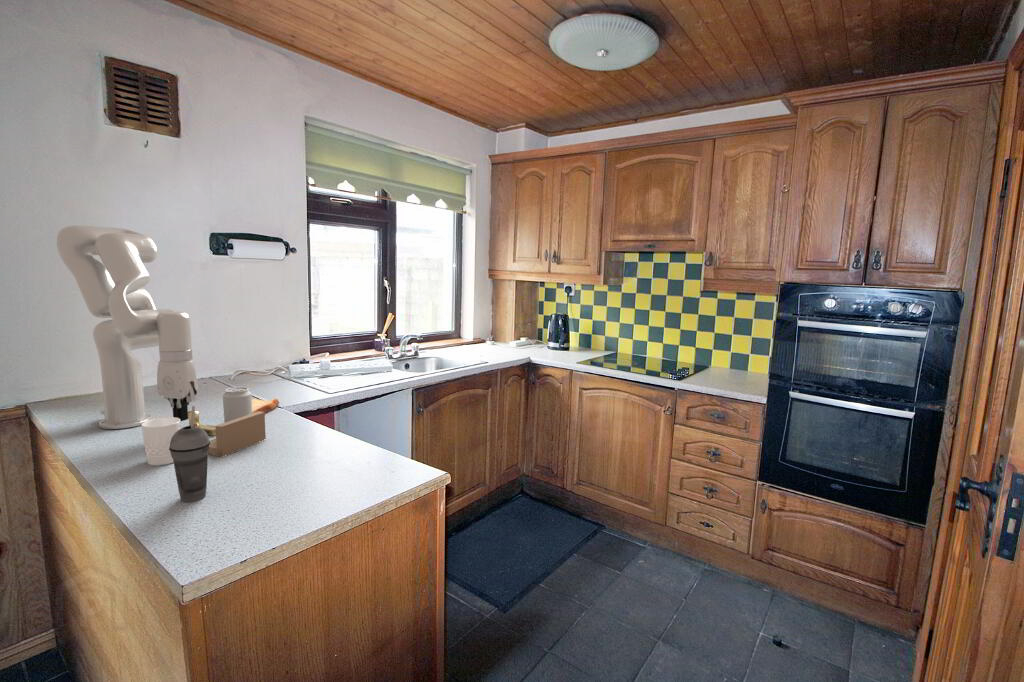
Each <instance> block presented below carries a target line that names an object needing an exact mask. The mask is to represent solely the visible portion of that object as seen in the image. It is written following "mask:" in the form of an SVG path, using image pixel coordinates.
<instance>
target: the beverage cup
mask: <svg viewBox="0 0 1024 682" xmlns="http://www.w3.org/2000/svg"><path fill="white" fill-rule="evenodd" d="M195 410H196V405H192V406H191V411H192V416H191V426H186V427H183V428H181V429H179V430H178V431H177V432H176V433H175V434H174V435H173V436H172V438H171V441H170V447H169V450H170V453H171V456H172V458H173V466H174V471H175V472H174V473H175V476H176V477H175V478H176V483H177V489H178V494H179V497H180V501H181V502H183V503H194V502H197V501H200V500H202V499H204V498H205V497H207V496H206V494H207V483H208V463H209V462H208V456H209V454H208V453H209V445H210V441H209V437H208V435H207V433H206V432H205V431H204V430H203V429H201V428H200V427H197V426H194V413H195Z"/></svg>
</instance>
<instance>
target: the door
mask: <svg viewBox="0 0 1024 682" xmlns="http://www.w3.org/2000/svg"><path fill="white" fill-rule="evenodd" d="M265 415H266V414H265V412H260V411H258V412H255V413H252V414H249V415H246V416H243V417H240V418H237V419H234V420H231V421H228V422H225V423H224V422H223V423H220V424H217V425H212V424H207V423H200V422H199V425H205V426H211V427H216V435H214V436H212V435H208V437H209V441H210V445H209V454H208V455H211V454H214V455H213V456H216V455H218V456H217V457H221V456H224V457H226V456H229V455H231V454H233V453H232V452H234V453H236V452H238V451H237V450H239V449H241V450H243V449H242V448H244V449H246V448H248V447H251V446H253V445H256V444H258V443H260V442H259V441H261V442H263V441H265V440H264V439H266V437H267V436H266V417H265ZM186 426H189V422H188V423H186V424H182V425H181V428H183V427H186ZM205 432H206V431H205ZM262 440H263V441H262ZM257 442H258V443H257ZM255 443H256V444H255ZM252 444H253V445H252ZM250 445H251V446H250ZM247 446H248V447H247ZM245 447H246V448H245ZM235 451H236V452H235ZM239 451H240V450H239ZM230 453H231V454H230ZM228 454H229V455H228ZM225 455H226V456H225Z"/></svg>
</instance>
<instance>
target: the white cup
mask: <svg viewBox="0 0 1024 682" xmlns="http://www.w3.org/2000/svg"><path fill="white" fill-rule="evenodd" d="M181 422H182V421H181V420H180V419H179V418H175V417H173V416H170V417H168V416H167V417H158V418H152V420H148V421H146V422H144V423H142V424H141V425H140V426H141V431H142V438H143V445H144V446H143V447H144V450H145V451H144V452H145V454H146V460H147V464H148V465H150V466H165V465H170V464H174V462H173V458H172V456H171V453H170V450H169V447H170V441H171V438H172V436H173V435H174V434H175V433H176V432H177V431H178V430H179V429H181V426H182V425H181V424H182V423H181Z"/></svg>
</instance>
